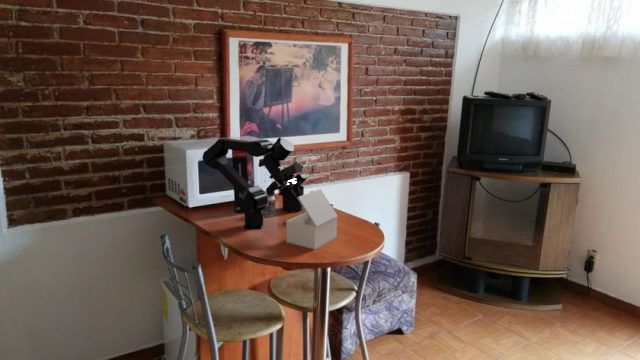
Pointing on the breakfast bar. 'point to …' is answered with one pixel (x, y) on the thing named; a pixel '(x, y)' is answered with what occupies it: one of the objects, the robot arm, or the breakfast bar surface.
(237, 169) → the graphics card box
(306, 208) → the carton flap
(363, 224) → the breakfast bar surface
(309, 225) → the carton
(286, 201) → the pen holder
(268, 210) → the pill bottle
